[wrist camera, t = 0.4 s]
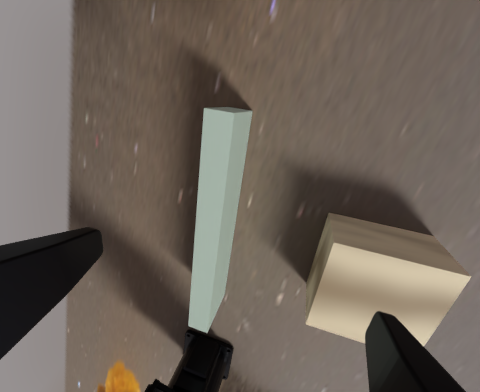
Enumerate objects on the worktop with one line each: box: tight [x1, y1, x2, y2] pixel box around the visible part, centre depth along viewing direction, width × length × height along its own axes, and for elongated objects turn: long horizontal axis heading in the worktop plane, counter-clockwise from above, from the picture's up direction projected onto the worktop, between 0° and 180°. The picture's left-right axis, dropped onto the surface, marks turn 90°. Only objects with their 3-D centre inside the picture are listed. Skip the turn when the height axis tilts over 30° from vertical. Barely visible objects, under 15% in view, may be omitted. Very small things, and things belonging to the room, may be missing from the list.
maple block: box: [306, 213, 471, 346], centre depth 19 cm, size 8×8×5 cm
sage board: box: [188, 107, 252, 333], centre depth 21 cm, size 20×2×5 cm, turn 173°
